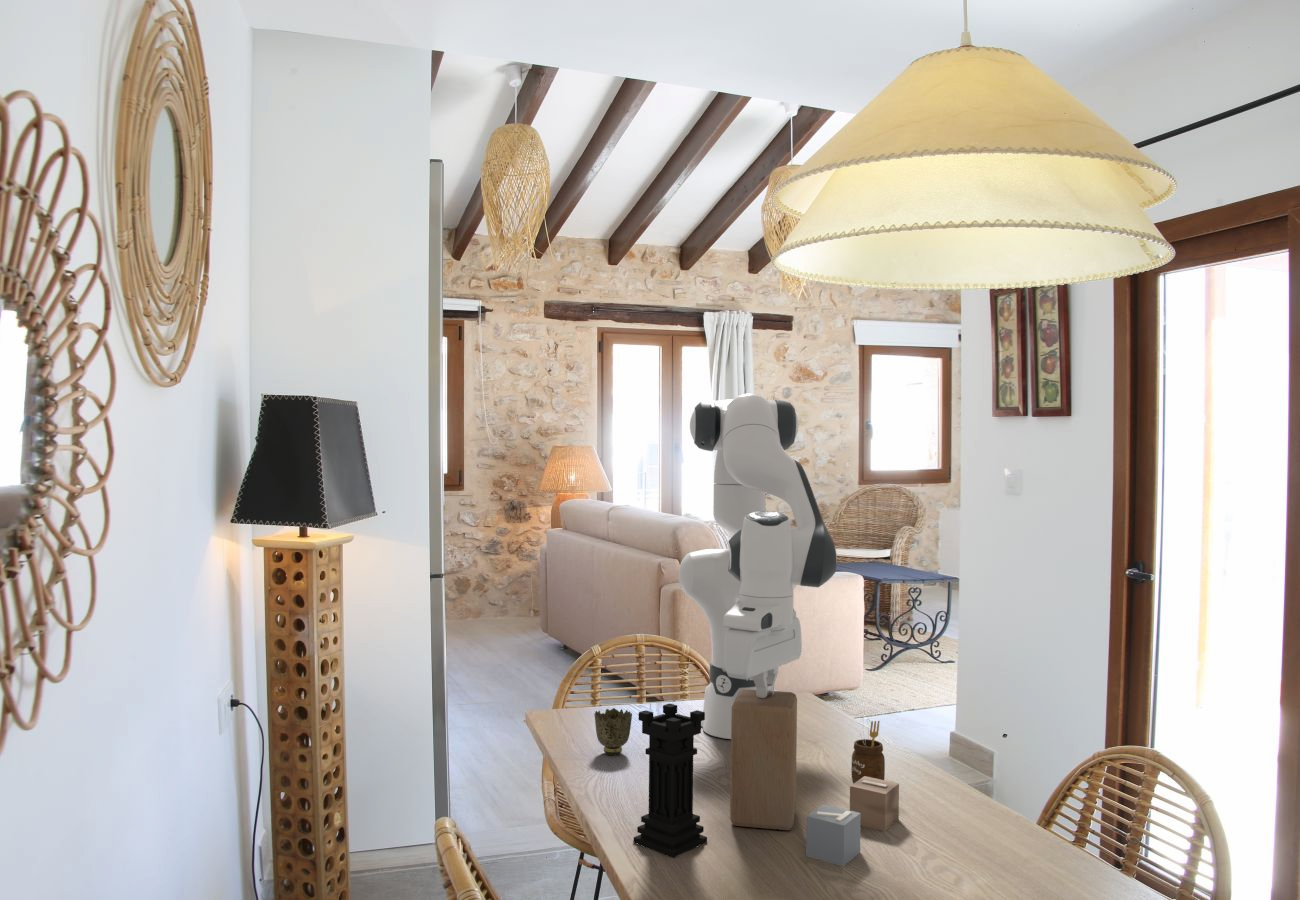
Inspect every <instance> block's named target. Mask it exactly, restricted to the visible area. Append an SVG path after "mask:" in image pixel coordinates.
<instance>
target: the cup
mask: <svg viewBox="0 0 1300 900" xmlns="http://www.w3.org/2000/svg"><path fill="white" fill-rule="evenodd" d="M593 716H594V722H595V723H594V724H595V732H596V737H597V740H598V742H599V743H600V745H602V746H603V752H604V753H605V754H606V755H608V756H617V755H621V754H622V752H623V746H625V745H626V743H627V742H629V741H628V740H629V738H630V735H631V728H632V719H633V718H632V717H633V712H631V711H628V709H626V710H625V712H624V711H623V709H620V710H618V709H616V708H614V707H613V708H611V709H609V708H606V709H605V711H604V712H602V713H601V711H600V710H598V711H595V713H594V714H593Z"/></svg>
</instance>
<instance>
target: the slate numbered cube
mask: <svg viewBox="0 0 1300 900" xmlns="http://www.w3.org/2000/svg"><path fill="white" fill-rule="evenodd" d="M860 819H861V813H858V812H854V811H850V809H844V808H840V807H836V806H834V805H833V806H832V805H828V804H822V805H820V806H819V807H818V808H816V809H815V810H814V811H812V812H811V813H810V812H809V814H808V815H806V824H805V825H806V833H805V836H806V838H805V841H806V842H805V856H806V857H808V858H812V859H816V860H819V861H823V862H827V863H831V864H834V865H838V866H841V867H845V866H846V865H847V864H848V863H849V862H851V861H853V859H854V858H855V857H857V856H858V855H859V854H861V825H860Z"/></svg>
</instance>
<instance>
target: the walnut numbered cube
mask: <svg viewBox="0 0 1300 900" xmlns="http://www.w3.org/2000/svg"><path fill="white" fill-rule="evenodd" d="M899 805H900V783H899V782H894V781H889V780H885V779H884V780H881V779H876V778H871V777H867V776H864V777H862V778H861V779H859V780H858V781H857V782H854V783H853V784H850V786H849V810H850V811H854V812H858V813H861V819H860V826H862V827H866V826H867V827H866V828H870V827H871V828H870V829H875V830H879V831H883V832H886V831H887V830H888V829H890V828H891V827H892V826H893V825H894V824H895V823H897V822H898V821H899V815H900V809H899V808H900V806H899Z"/></svg>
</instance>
